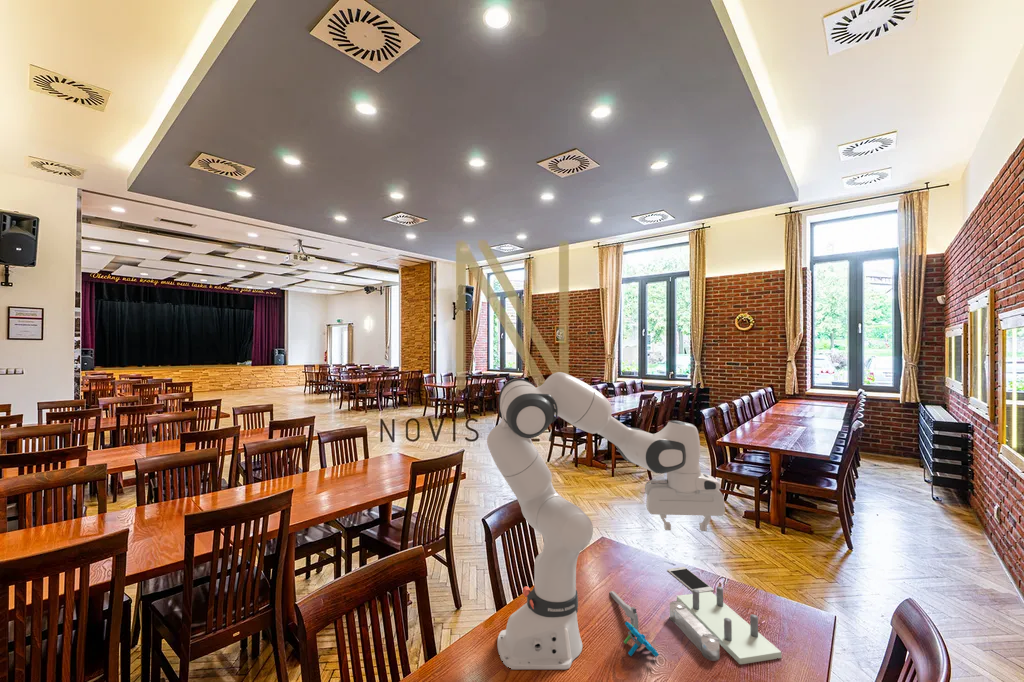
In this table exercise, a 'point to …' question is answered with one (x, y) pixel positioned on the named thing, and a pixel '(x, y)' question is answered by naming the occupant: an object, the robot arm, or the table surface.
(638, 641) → the gear
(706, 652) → the grey dumbbell
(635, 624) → the caliper
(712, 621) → the board
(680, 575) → the smartphone
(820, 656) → the table surface
